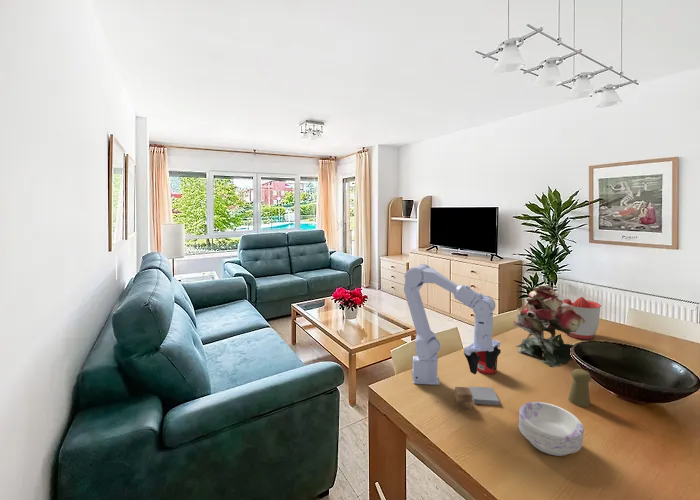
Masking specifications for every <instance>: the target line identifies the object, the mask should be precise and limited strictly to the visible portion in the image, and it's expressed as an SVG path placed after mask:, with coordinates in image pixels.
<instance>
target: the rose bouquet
mask: <svg viewBox="0 0 700 500" xmlns="http://www.w3.org/2000/svg"><path fill="white" fill-rule="evenodd" d="M532 289H533V290H532V291H530V292H529V293H528V297H530V298H525V300H524V301H525V304H524V305H523V306H521V307H517V308H516V310H517V312H516V314H517V315H516V316H517V318H515V321H513V324H512V325H513V326H516V327H518V328H520V329H522V330H524V331H526V332H527V333H529V334H528V336H526V338H524V339H522V341H521V343H520V344H519V345H515V348H519V349H517V353H520V354H522V353H524V354H528V355H530V356H532V357H533V358H536V359H538V361H539V362H542V363H543V364H546V365H548V366H549V367H551V368H554V367H555V368H559V367H561V366H562V367H563V365H567V364H568V363H569V362H571V360H573V359H572V357H571V355H570V348H571V347H572V346H573V345H574V344H573V343H572V344H571V343H565V342H564V340H563V338H562V334H561V333H560V334H557V333H556V331H559V332H562V333H564V334H565V335H567V334H568V336H569V335H570V336H569V337H572V336H571V335H572V334H570V333H569V332H574V333H575V332H576V330H577V328H579V324H583V323H584V322H585V320H584V318H581V316H580V315H579V314H578V312H576V310H575V308H574V307H573V306H571V305H568V304H566V303H564V302H563V300H562V299H559V298H558V297H559V293H557V292H556V291H555V290H554V289H553V287H551V286H548V285H537V286H536V287H533V288H532ZM545 332H548V333H549V334H550V335H551V336H550V337H549V338H545V336H544V335H545V334H544V333H545ZM556 334H557V335H556ZM573 336H574V335H573ZM575 337H576V336H575ZM537 354H542V357H543V358H545V360H541V359H539V356H538V355H537ZM560 364H561V365H560Z"/></svg>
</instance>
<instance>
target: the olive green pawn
mask: <svg viewBox="0 0 700 500" xmlns="http://www.w3.org/2000/svg"><path fill="white" fill-rule="evenodd" d="M571 377H572V382H571V387H570V391H569V394H568V401H569V403H571V404H573V405H575V406H577V407H580V408H588V407H591V399H590V385H589V383H590V382H591V379H592V376H591V374H590V372H589V371H587V370H585V369H581V368H575V369H573V370H572V372H571Z"/></svg>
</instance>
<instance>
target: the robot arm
mask: <svg viewBox="0 0 700 500" xmlns="http://www.w3.org/2000/svg"><path fill="white" fill-rule="evenodd" d="M432 283H433V284H435V285H437V286H439V287H441V288H442V289H444V290H446V291H448V292H449V293H452V295H453V297H454V299H455V300H457V301H459V302H460V303H462V304H463V305H465V306H467V307H468V308H470V309H472V312H473V313H474V315H475V316H474V327H473V329H474V331H473V332H474V333H473V343H471V344H470V345H468V346H466V347H464V349H463V350H464V351H463V355H464V356H465V358H466V361H467V364H468V366H469V367H468V368H469V371H470V373H471V374H473V375H476V374H477V373H478V371H477V367H478V362H479V360H480V358H481V357H479V356H477V354H476V352H480V351H485V353H486V366H487V367H488V368H490V369H493V366H494V363H495V361H496V359H497V360H498V357H499V355H500V354H501V353H502V352H501V351H502V350H501V349H500V347H501V342H500V341H499V340H497V339H494V340H493V331H494V330H493V328H494V320H493V319H494V313H493V312H494V310H495V309H496V302H495V300H494V298H492V297H491V296H489V295H484V294H483V293H479V292H477V291H476V290H475V289H472V288H471V286H470V285H468V284H467V285H465V284H460V285H459V284H457V283H456V282H454V281H453V280H451V279H449V278H448V277H447V276H444V275H443V274H442V273H440V272H439V271H437V270H436V269H435V268H434V267H431V266H429V265H428V264H426V263H423V264H419V265H417V266H414V267H411V268H409V269H407V271H406V272H405V274H404V285H403V291H404V295H405V298H406V302H407V305H408V309H409V312H410V316H411V319H412V322H413V325H414V329H415V332H416V336H415V340H414V343H415V354H416V355H413V356H412V370H411V376H412V381H413V384H415V385H432V386H433V385H434V386H439V385H440V380H439V377H438V362H439V359H438V358H439V357H438V353H439V351H440V350H441V342H440V341H439V339H438V337H437V336H436V333H435V332H434V331H432V330H431V326H430V323H429V320H428V317H427V314H426V310H425V307H424V304H423V301H422V297H421V292H420V289H421V288H422V287H423V285H424V284H432Z"/></svg>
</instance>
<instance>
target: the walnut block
mask: <svg viewBox="0 0 700 500" xmlns="http://www.w3.org/2000/svg"><path fill="white" fill-rule="evenodd" d="M454 404H455V407H456V410H457V411H468V412H472V410H473V409H472V408H473V407H472V406H473V405H472V404H473V400H472V394H471V391H470V389H469V386H467V387H465V386H455V387H454Z"/></svg>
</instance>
